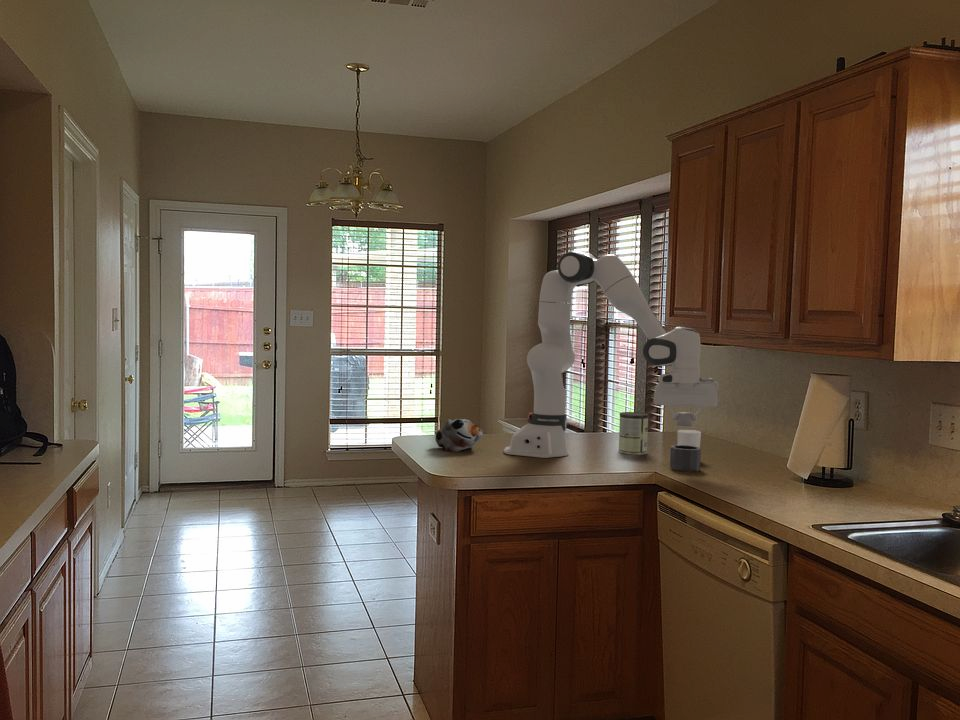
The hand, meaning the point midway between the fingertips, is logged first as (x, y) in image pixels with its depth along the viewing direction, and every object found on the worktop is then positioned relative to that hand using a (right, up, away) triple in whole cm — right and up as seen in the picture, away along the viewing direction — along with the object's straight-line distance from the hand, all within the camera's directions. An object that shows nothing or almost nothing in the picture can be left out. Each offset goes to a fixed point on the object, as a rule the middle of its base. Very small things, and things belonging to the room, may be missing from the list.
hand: (684, 419), depth 271 cm
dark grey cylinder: (0, -16, +2) cm, 16 cm away
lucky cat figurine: (-74, -13, +26) cm, 79 cm away
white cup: (+6, -15, +19) cm, 25 cm away
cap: (0, -2, 0) cm, 2 cm away
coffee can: (-11, -14, +31) cm, 36 cm away
